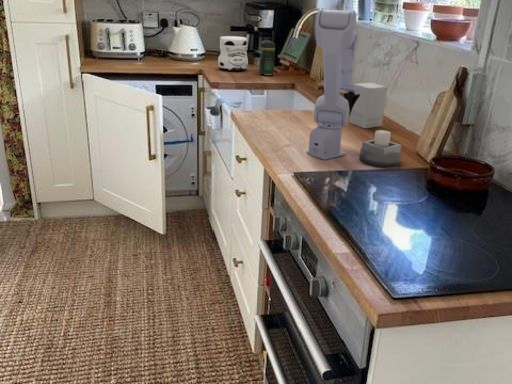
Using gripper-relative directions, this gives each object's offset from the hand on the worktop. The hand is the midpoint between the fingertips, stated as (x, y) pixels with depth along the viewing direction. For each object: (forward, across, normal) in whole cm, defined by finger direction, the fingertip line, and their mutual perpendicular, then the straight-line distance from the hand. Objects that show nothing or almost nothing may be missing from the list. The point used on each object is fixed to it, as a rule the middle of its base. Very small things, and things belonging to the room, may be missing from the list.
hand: (338, 112), depth 161 cm
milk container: (+10, +129, -50) cm, 139 cm away
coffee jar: (+10, +108, -58) cm, 123 cm away
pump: (+7, -21, +3) cm, 22 cm away
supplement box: (+10, +9, -26) cm, 29 cm away
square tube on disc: (+10, -21, +3) cm, 23 cm away
